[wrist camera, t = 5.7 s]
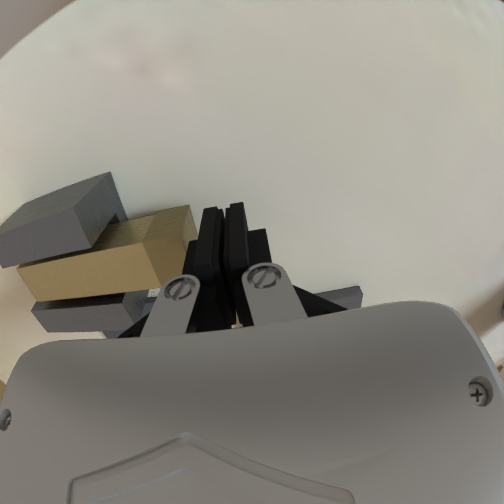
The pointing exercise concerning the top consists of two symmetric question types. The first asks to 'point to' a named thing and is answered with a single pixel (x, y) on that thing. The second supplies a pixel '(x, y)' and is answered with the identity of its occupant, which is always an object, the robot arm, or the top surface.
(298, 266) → the top surface
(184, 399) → the robot arm
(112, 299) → the socket block
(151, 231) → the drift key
